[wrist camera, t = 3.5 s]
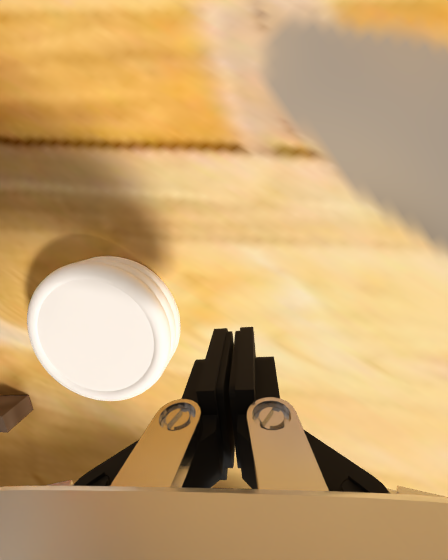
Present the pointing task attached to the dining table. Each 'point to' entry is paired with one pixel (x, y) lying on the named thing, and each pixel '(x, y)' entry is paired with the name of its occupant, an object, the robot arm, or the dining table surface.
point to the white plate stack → (104, 327)
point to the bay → (13, 410)
